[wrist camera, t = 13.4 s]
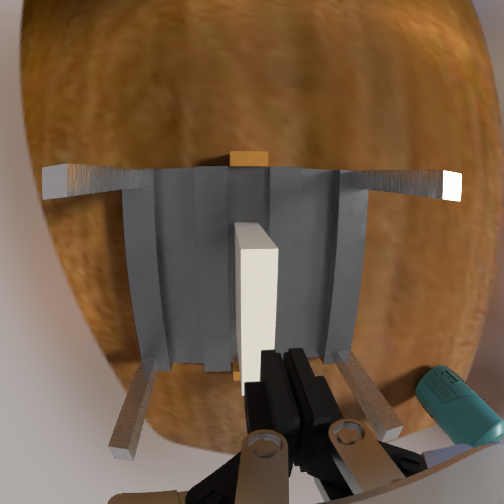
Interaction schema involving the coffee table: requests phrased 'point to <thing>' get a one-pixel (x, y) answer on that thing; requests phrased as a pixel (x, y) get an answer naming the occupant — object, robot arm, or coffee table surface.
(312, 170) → the rack
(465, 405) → the beverage bottle
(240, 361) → the block
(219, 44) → the coffee table surface
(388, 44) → the coffee table surface
